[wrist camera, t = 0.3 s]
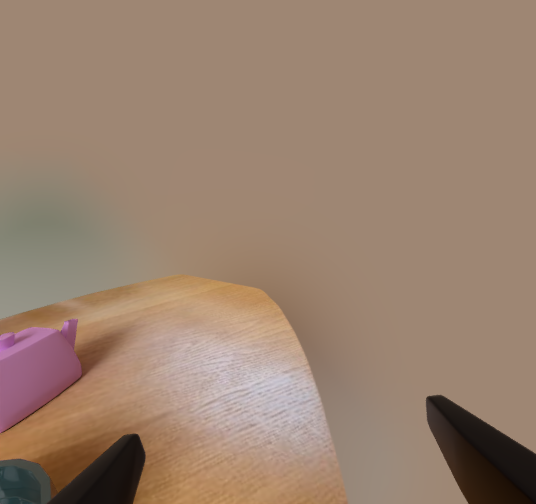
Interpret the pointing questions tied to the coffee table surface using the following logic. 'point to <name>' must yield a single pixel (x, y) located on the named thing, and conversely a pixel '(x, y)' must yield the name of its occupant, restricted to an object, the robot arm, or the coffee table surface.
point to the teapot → (35, 369)
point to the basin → (24, 483)
